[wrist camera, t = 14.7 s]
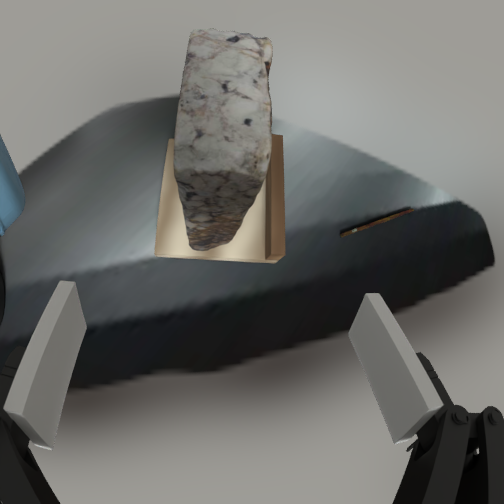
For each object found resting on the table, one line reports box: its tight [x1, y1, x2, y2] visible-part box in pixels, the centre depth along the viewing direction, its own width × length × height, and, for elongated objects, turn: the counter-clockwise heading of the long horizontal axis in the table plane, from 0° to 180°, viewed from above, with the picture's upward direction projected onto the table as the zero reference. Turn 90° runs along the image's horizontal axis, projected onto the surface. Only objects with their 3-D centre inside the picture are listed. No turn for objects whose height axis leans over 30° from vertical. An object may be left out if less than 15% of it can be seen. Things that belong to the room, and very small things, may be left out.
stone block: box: [173, 29, 272, 251], centre depth 27 cm, size 13×7×20 cm, turn 5°
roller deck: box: [154, 134, 285, 263], centre depth 38 cm, size 14×15×8 cm
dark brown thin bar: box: [340, 208, 414, 237], centre depth 46 cm, size 15×1×1 cm, turn 111°
